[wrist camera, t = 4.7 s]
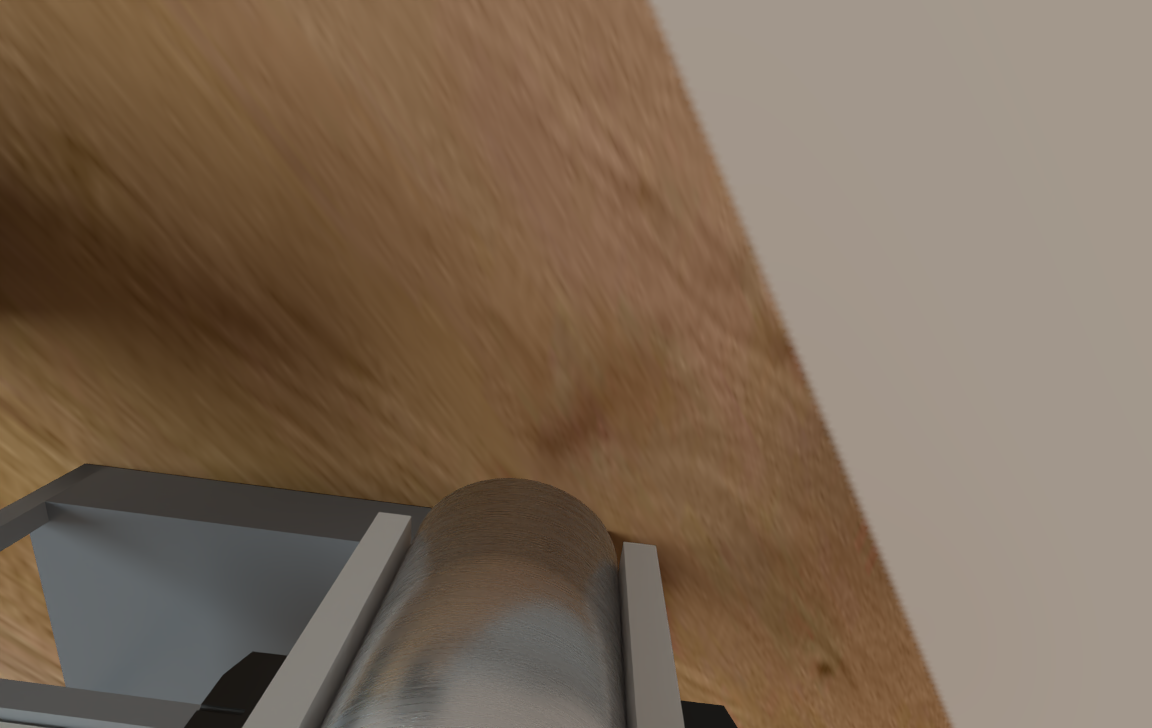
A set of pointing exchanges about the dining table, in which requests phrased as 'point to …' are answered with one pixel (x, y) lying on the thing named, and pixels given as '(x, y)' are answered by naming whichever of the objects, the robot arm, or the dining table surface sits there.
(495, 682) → the metal cylinder
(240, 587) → the housing
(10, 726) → the lid
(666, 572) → the dining table surface
